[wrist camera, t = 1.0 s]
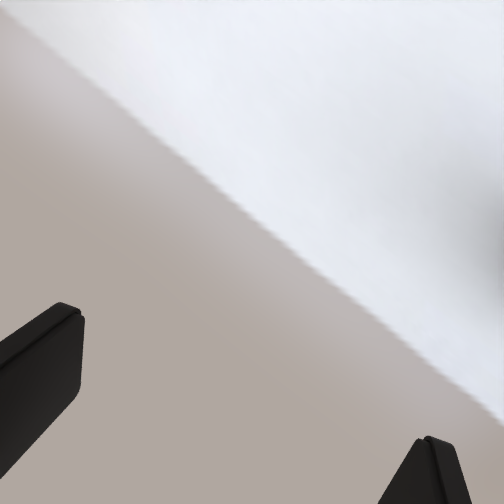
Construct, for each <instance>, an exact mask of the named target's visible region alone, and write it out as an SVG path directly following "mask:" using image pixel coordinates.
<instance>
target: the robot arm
mask: <svg viewBox="0 0 504 504" xmlns="http://www.w3.org/2000/svg"><path fill="white" fill-rule="evenodd" d="M84 325H85V318H84V316H82V315H81V311H80V309H78V308H76V307H73V306H70V305H67V304H65V303H61V302H58V303H56V304H54V305H53V306H52V307H50V308H49V309H47V310H46V311H44V312H43V313H41V314H40V315H38V316H37V317H35V318H34V319H33V320H31V321H30V322H28V323H27V324H25V325H24V326H23V327H21V328H19V329H18V330H17V331H15V332H14V333H13V334H11V335H9V336H8V337H6V338H5V339H4V340H2V341H1V342H0V479H1V478H2V477H3V476H4V475H5V474H6V473H7V471H8V470H9V469H10V468H11V467H12V466H13V465H14V464H15V463H16V462H17V461H18V460H19V458H20V457H21V456H22V455H23V454H24V453H25V452H26V451H27V450H28V449H29V448H30V447H31V445H32V444H33V443H34V442H35V441H36V440H37V439H38V438H39V437H40V435H42V434H43V432H44V431H45V430H46V429H47V428H48V427H49V426H50V425H51V424H52V422H54V420H55V419H56V418H57V417H58V416H59V415H60V414H61V413H62V412H63V411H64V409H66V407H67V406H68V405H69V404H70V403H71V402H72V401H73V400H74V399H75V397H76V396H77V394H78V392H79V389H80V386H81V370H82V356H83V341H84ZM378 504H472V502H471V499H470V496H469V492H468V489H467V486H466V483H465V480H464V476H463V473H462V470H461V467H460V464H459V460H458V457H457V454H456V451H455V448H454V446H453V445H452V444H450V443H448V442H445V441H442V440H439V439H437V438H434V437H431V436H426V437H424V439H423V440H422V439H419V438H418V439H417V440H416V441H415V442H414V444H413V446H412V447H411V449H410V451H409V452H408V454H407V455H406V457H405V459H404V461H403V462H402V464H401V465H400V467H399V469H398V470H397V472H396V474H395V475H394V477H393V479H392V480H391V482H390V484H389V485H388V487H387V489H386V490H385V492H384V494H383V495H382V497H381V499H380V500H379V502H378Z"/></svg>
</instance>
